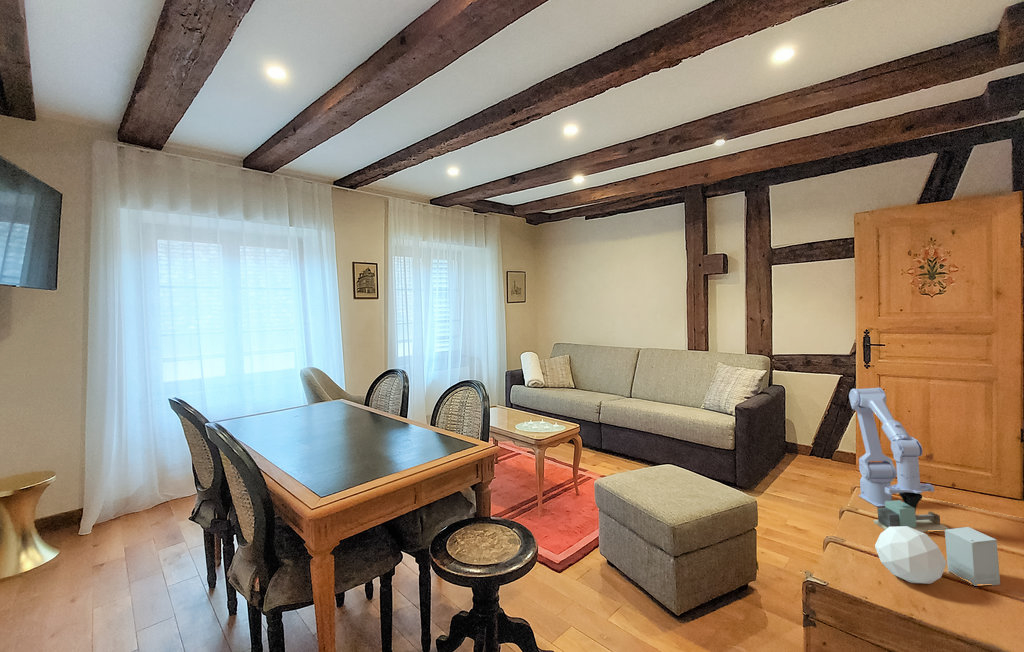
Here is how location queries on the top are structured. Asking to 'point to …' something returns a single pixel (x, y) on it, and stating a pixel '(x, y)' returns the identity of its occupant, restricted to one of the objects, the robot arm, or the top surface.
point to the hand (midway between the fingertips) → (911, 512)
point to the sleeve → (903, 512)
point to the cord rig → (922, 524)
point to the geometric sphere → (910, 555)
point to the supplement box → (972, 556)
